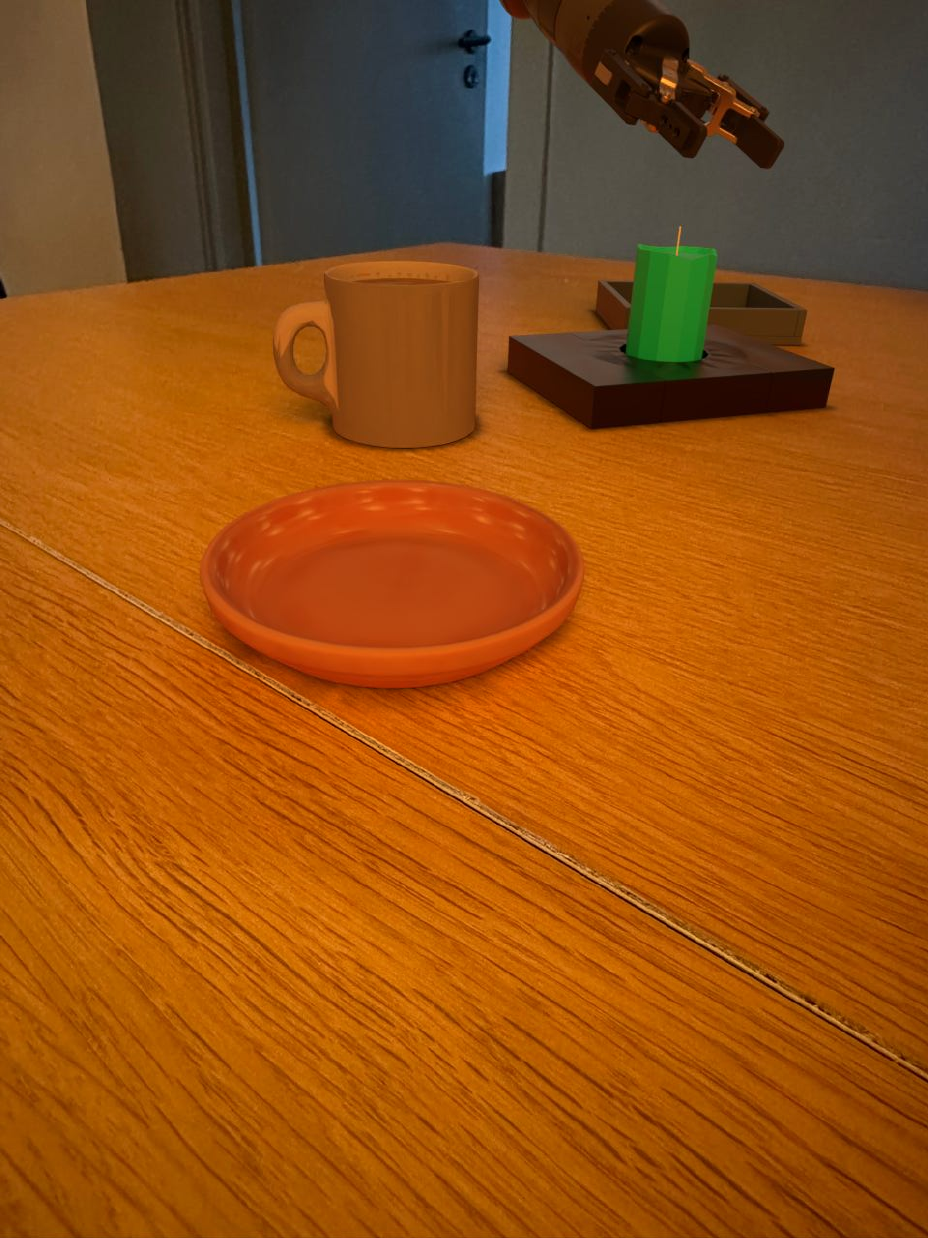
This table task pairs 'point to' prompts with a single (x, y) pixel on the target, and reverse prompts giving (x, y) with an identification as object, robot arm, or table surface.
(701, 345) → the candle
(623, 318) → the brown open tray
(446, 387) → the coffee mug
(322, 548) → the saucer
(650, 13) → the robot arm
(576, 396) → the dark brown flat block
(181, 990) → the table surface
